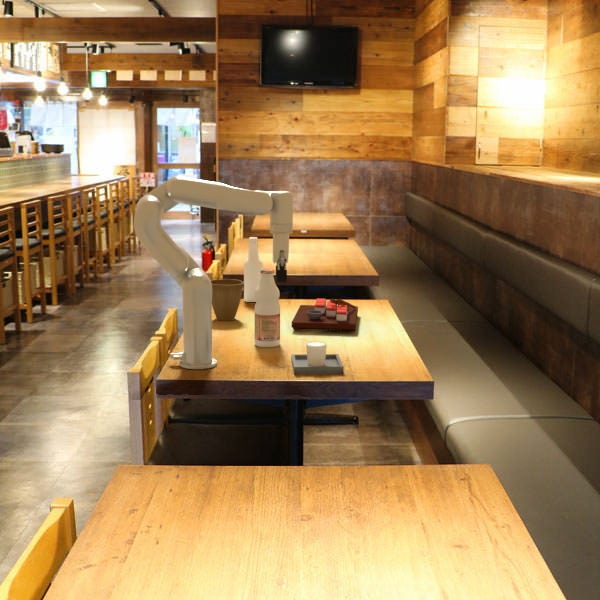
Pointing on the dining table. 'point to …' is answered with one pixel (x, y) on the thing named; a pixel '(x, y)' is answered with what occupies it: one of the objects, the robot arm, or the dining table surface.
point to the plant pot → (226, 298)
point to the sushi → (326, 316)
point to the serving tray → (330, 367)
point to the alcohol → (252, 271)
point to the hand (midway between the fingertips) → (281, 279)
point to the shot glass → (316, 353)
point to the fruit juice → (267, 311)
